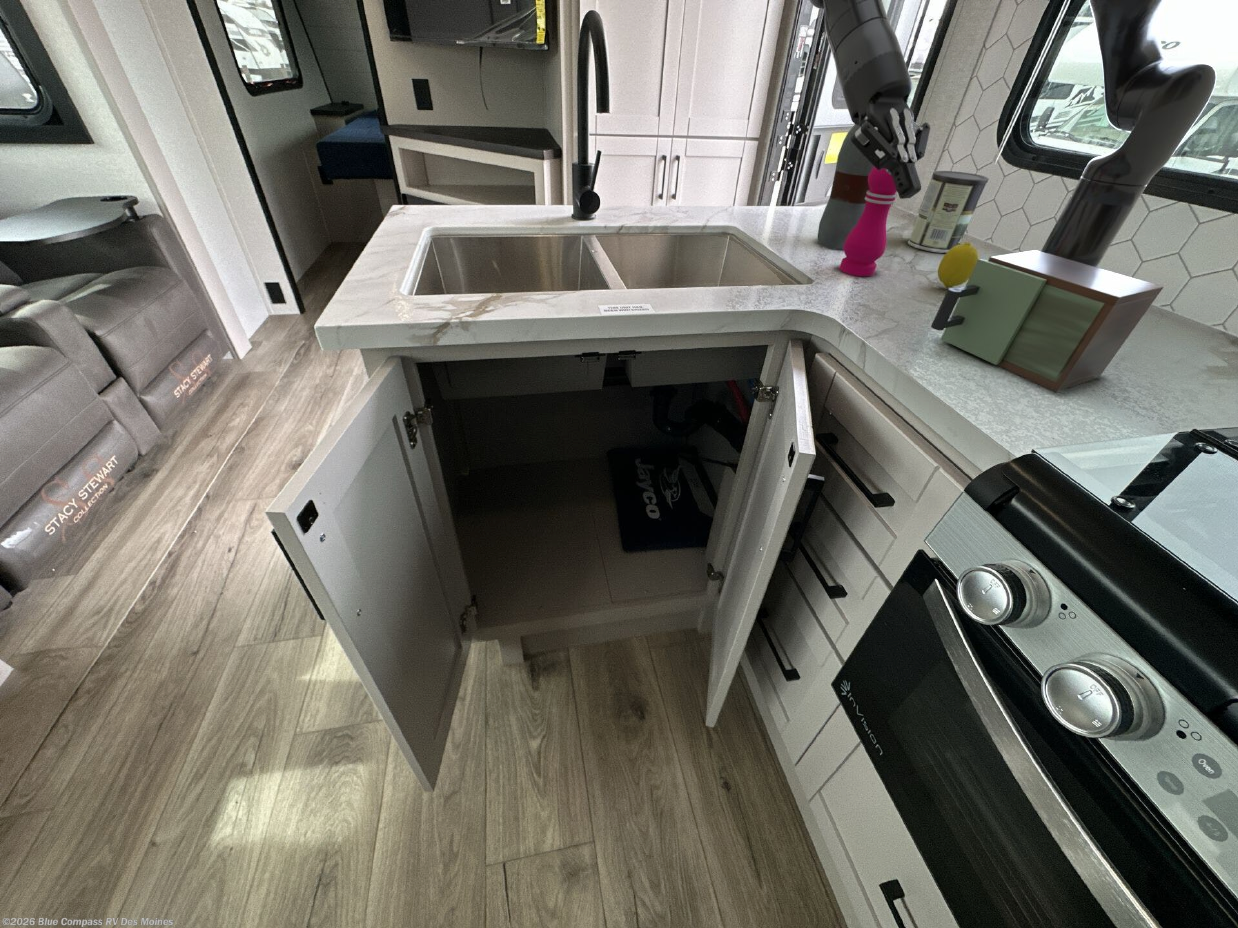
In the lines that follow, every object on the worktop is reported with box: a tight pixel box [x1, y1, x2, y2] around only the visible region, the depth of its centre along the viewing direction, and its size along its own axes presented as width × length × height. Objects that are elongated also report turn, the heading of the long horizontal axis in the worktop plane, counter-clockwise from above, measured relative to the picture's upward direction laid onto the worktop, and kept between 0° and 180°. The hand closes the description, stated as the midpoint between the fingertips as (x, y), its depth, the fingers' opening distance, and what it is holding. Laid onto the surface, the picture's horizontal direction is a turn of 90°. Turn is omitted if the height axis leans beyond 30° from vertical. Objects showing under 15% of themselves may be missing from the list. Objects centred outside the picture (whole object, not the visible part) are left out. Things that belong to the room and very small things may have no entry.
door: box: [930, 258, 1047, 366], centre depth 66 cm, size 6×8×11 cm
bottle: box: [817, 124, 874, 251], centre depth 102 cm, size 9×9×30 cm
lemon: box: [937, 241, 979, 290], centre depth 90 cm, size 6×6×8 cm
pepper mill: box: [839, 166, 898, 277], centre depth 91 cm, size 7×7×20 cm
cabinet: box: [987, 249, 1164, 393], centre depth 67 cm, size 10×15×12 cm, turn 27°
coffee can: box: [907, 170, 990, 254], centre depth 110 cm, size 10×10×14 cm
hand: (911, 194), depth 68 cm, fingers closed
